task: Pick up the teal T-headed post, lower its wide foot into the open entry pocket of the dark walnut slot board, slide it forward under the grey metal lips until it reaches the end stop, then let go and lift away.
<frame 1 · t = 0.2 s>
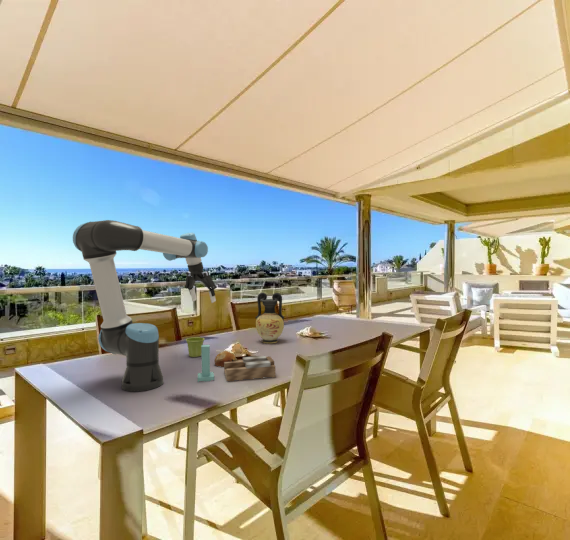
hand: (204, 301, 184), 28 cm above the table, tool tilted 20°, fingers open, 13 cm apart
slot board: (249, 374, 147), on the table
bread roll: (226, 365, 164), on the table
plant pot: (195, 356, 180), on the table
amphora: (270, 342, 211), on the table
t post: (205, 378, 143), on the table
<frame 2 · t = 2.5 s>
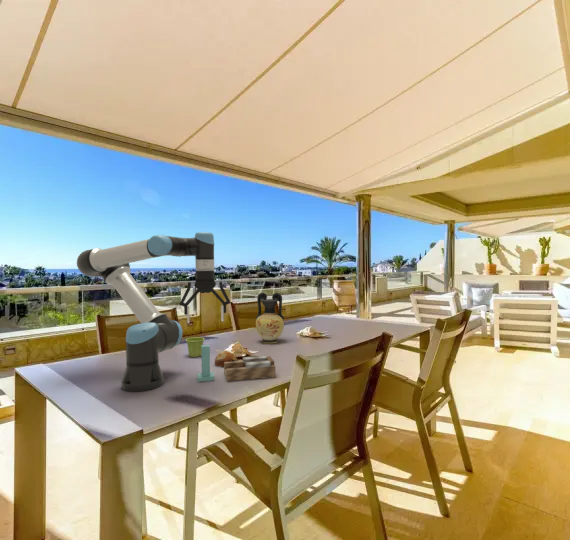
hand: (205, 322, 143), 23 cm above the table, tool pointing down, fingers open, 13 cm apart
nothing on the table moved.
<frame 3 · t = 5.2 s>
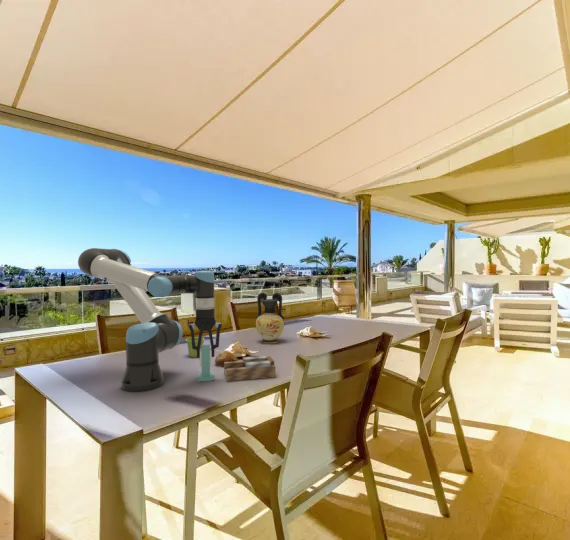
hand: (205, 365, 143), 6 cm above the table, tool pointing down, fingers closed on t post, 3 cm apart
t post: (205, 378, 143), on the table, touching gripper
everything else where it was.
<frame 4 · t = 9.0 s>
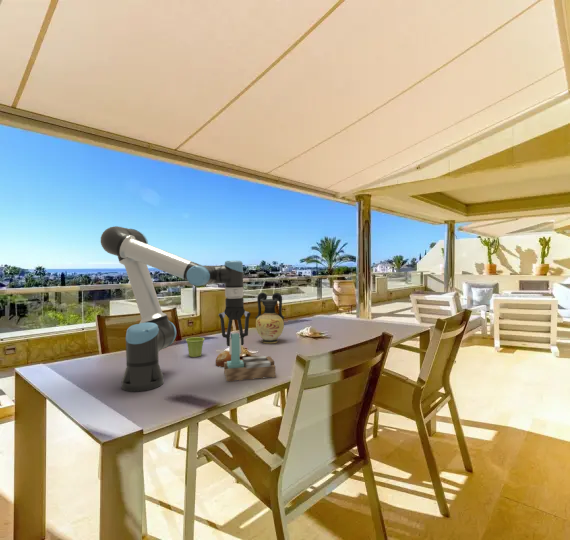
hand: (235, 353, 146), 10 cm above the table, tool pointing down, fingers closed on t post, 3 cm apart
t post: (235, 366, 146), point 4 cm above the table, touching gripper
everything else where it was.
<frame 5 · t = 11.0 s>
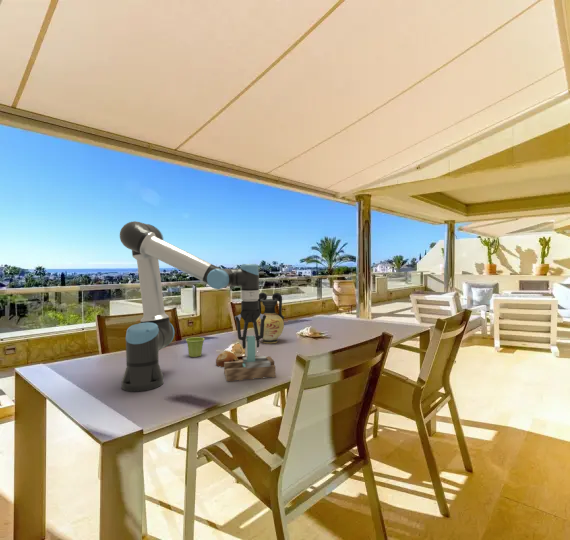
hand: (250, 355, 147), 8 cm above the table, tool pointing down, fingers closed on t post, 3 cm apart
t post: (251, 368, 147), point 3 cm above the table, touching gripper
everything else where it was.
when the fingers open (8 cm above the table, at t = 12.8 s): t post stays where it is, resting on slot board.
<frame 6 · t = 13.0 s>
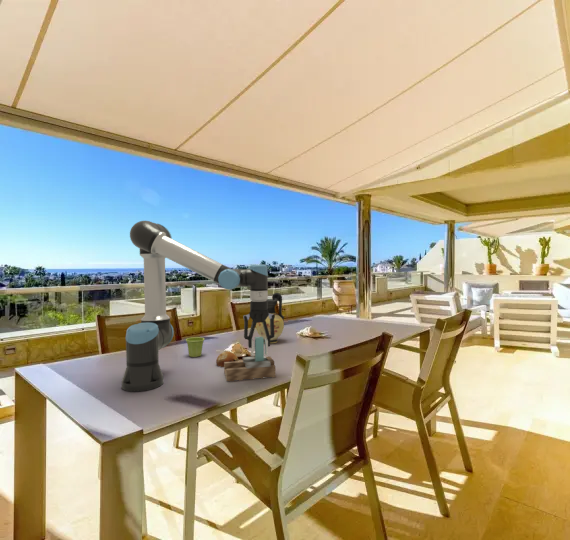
hand: (259, 354, 148), 8 cm above the table, tool pointing down, fingers open, 5 cm apart
t post: (259, 369, 149), point 2 cm above the table, touching slot board
everything else where it was.
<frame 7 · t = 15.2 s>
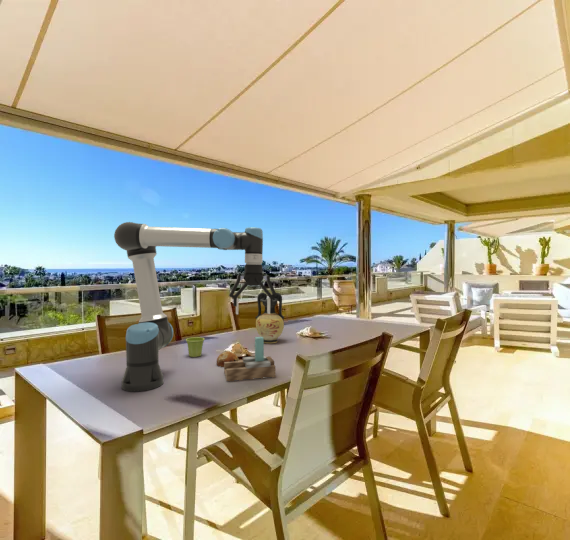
hand: (253, 313, 148), 26 cm above the table, tool pointing down, fingers open, 13 cm apart
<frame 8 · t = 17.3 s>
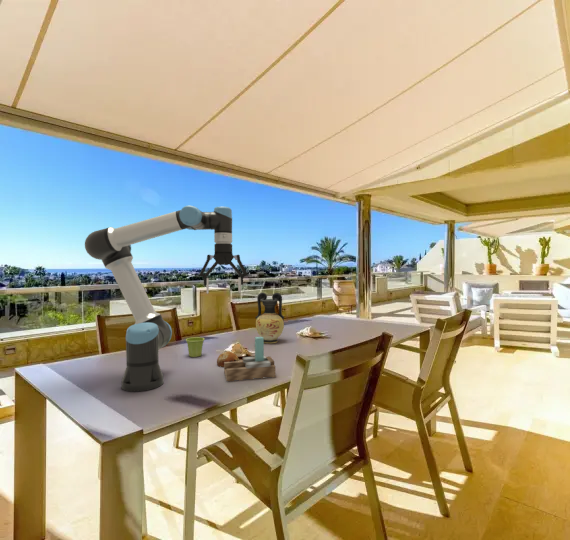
hand: (223, 292, 149), 35 cm above the table, tool pointing down, fingers open, 13 cm apart
at the end: t post 0.6 cm from the target spot on the slot board, point 2.0 cm above the slot board's base; the gripper is holding nothing; t post tilted 0° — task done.
